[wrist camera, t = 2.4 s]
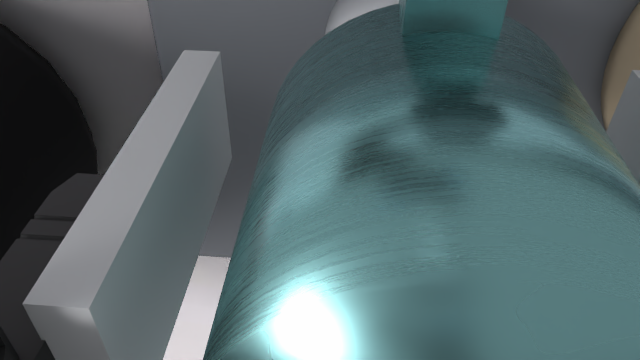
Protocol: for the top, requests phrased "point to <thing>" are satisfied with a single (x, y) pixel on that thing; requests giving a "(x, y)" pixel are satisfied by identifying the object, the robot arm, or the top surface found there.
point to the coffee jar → (35, 135)
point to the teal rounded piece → (434, 203)
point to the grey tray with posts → (329, 13)
